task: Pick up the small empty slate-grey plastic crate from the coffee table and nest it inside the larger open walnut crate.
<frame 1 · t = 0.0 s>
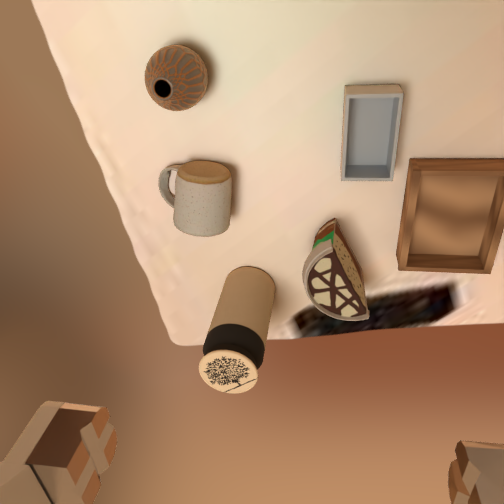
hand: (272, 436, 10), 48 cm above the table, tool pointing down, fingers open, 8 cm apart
vase: (186, 72, 53), on the table
travel mug: (250, 285, 69), on the table
small crate: (367, 127, 53), on the table
food container: (328, 250, 63), on the table
ceramic mug: (200, 185, 61), on the table
big crate: (446, 210, 57), on the table
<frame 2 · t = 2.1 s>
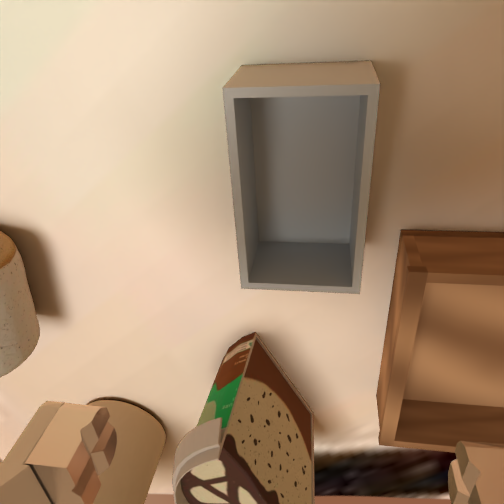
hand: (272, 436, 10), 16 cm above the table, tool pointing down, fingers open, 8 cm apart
travel mug: (125, 423, 40), on the table
small crate: (304, 164, 23), on the table
food container: (251, 382, 34), on the table
big crate: (479, 329, 27), on the table
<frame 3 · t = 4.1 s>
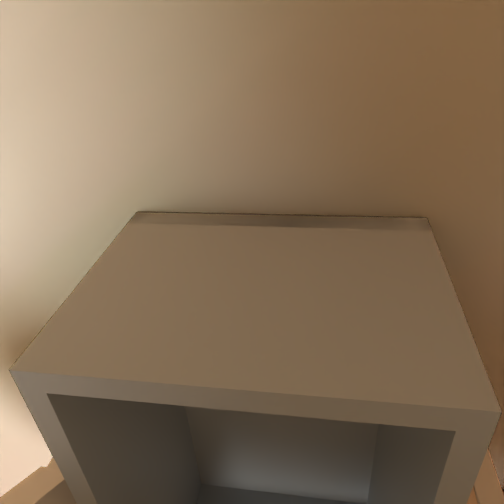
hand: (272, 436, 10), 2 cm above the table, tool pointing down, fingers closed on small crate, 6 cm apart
small crate: (279, 381, 12), on the table, touching gripper
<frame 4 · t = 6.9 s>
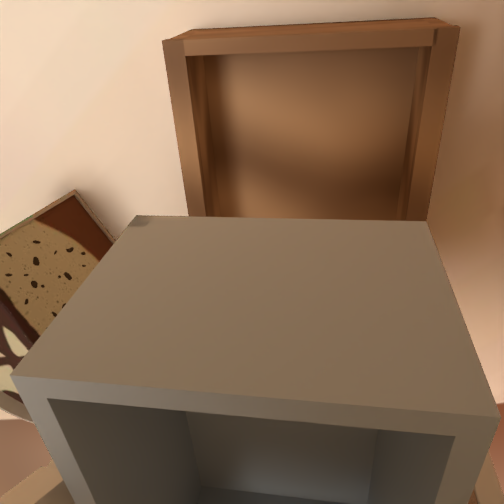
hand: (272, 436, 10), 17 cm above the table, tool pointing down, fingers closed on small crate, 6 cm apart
small crate: (279, 383, 12), point 15 cm above the table, touching gripper
food container: (89, 261, 30), on the table
big crate: (306, 168, 24), on the table
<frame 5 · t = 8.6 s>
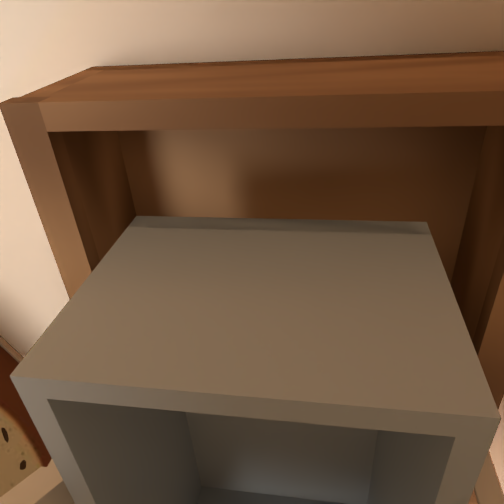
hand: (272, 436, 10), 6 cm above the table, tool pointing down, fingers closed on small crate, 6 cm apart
small crate: (279, 383, 12), point 5 cm above the table, touching gripper
big crate: (293, 277, 15), on the table
when the fingers open (5 cm above the table, at t = 9.9 s): small crate drops 2 cm, resting on big crate.
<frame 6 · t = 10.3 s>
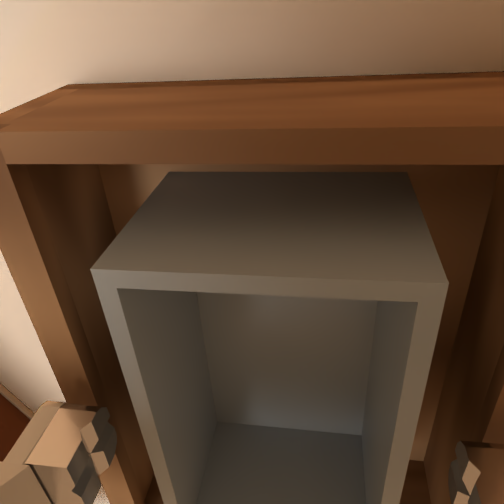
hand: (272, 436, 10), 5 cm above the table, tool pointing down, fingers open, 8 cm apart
small crate: (286, 322, 14), point 1 cm above the table, touching big crate
big crate: (288, 309, 14), on the table
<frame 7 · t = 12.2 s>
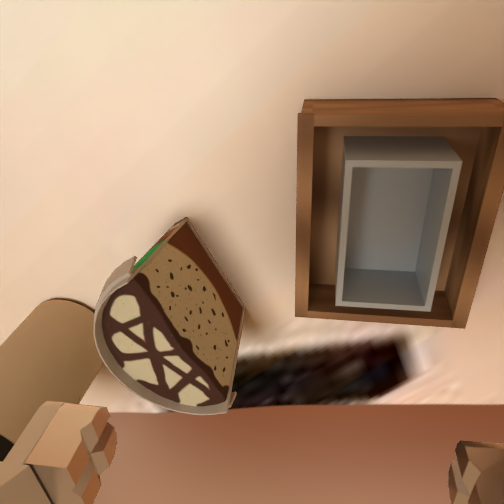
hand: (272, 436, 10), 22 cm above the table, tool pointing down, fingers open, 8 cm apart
travel mug: (74, 329, 42), on the table
small crate: (383, 209, 30), point 1 cm above the table, touching big crate
food container: (187, 275, 36), on the table
big crate: (383, 205, 30), on the table
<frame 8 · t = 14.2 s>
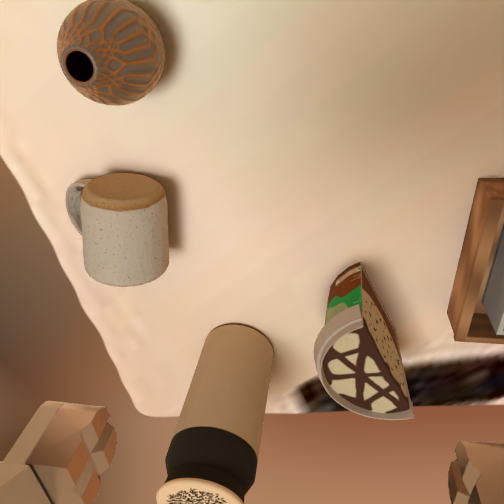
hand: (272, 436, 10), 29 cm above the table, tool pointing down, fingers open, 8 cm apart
vase: (133, 45, 34), on the table
travel mug: (239, 347, 50), on the table
food container: (349, 305, 45), on the table
ceramic mug: (128, 208, 42), on the table
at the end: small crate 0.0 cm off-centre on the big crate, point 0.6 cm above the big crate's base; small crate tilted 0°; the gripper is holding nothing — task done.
